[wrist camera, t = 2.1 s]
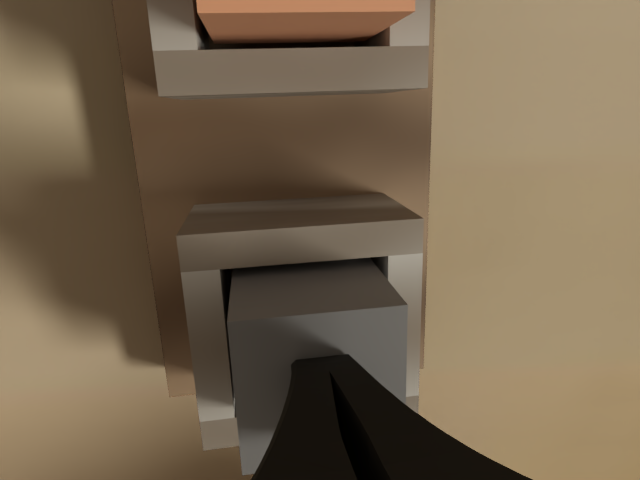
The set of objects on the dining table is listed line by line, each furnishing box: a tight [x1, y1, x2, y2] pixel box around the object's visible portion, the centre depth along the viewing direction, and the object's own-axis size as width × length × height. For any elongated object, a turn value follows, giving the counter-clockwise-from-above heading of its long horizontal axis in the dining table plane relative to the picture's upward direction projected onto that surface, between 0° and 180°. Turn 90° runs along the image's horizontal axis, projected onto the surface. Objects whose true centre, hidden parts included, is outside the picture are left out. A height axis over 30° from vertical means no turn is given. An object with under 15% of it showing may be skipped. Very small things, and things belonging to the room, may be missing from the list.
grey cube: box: [227, 257, 408, 475], centre depth 13 cm, size 4×4×4 cm
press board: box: [112, 0, 435, 451], centre depth 15 cm, size 18×10×6 cm, turn 2°
